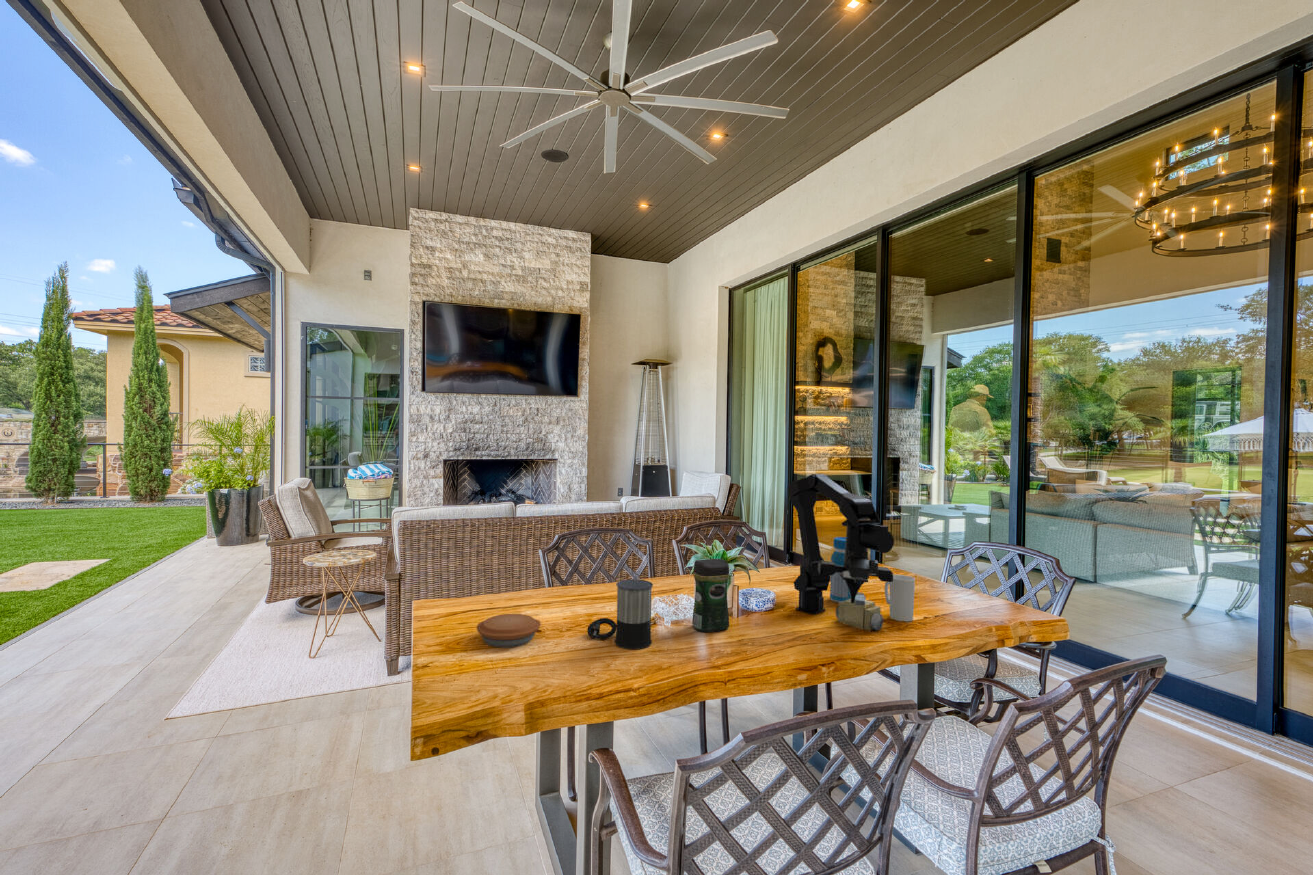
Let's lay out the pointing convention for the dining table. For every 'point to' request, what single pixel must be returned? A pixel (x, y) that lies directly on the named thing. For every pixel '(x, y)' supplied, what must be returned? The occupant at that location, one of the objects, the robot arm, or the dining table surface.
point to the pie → (508, 630)
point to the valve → (860, 615)
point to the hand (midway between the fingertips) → (852, 602)
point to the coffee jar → (711, 595)
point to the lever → (860, 599)
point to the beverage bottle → (837, 583)
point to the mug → (901, 597)
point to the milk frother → (629, 616)
